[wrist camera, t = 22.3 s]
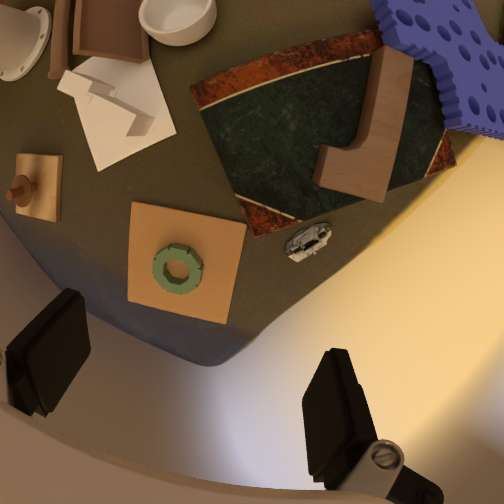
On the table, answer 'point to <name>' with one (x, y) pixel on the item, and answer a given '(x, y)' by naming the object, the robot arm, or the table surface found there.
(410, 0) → the blue perforated plate
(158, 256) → the ring
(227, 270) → the cork mat
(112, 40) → the toilet paper hanger
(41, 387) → the robot arm
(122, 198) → the table surface
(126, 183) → the table surface
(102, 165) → the napkin holder
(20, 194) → the ring peg
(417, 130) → the book
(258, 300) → the table surface
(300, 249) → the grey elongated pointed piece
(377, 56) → the wooden block
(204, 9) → the teacup
